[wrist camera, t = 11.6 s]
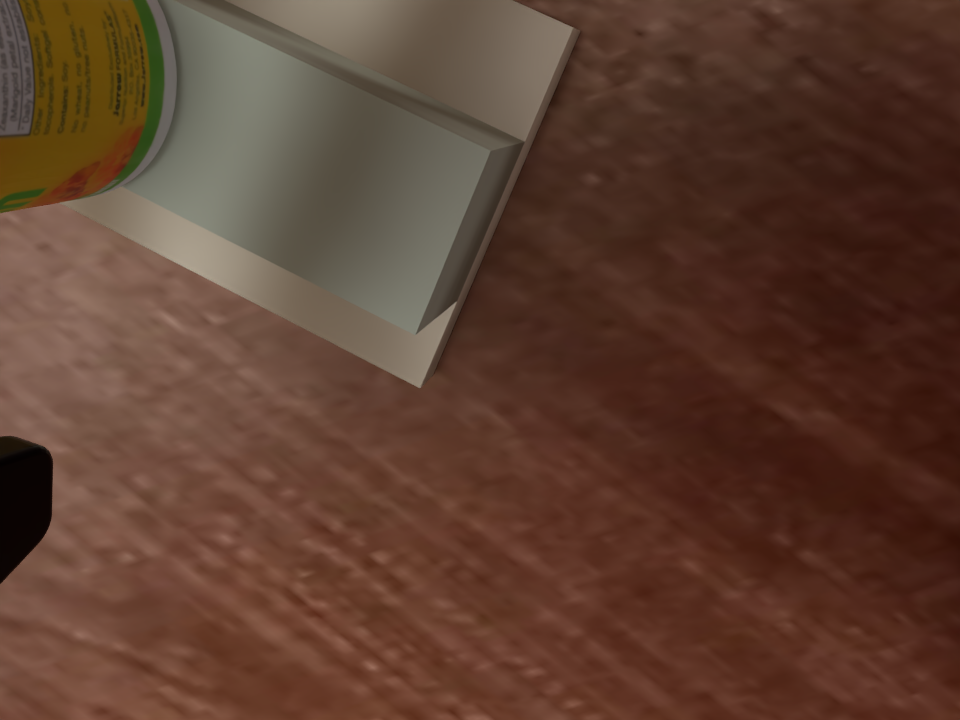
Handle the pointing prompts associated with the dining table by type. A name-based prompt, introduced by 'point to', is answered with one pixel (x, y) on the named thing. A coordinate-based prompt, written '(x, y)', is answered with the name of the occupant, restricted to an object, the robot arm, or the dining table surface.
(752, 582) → the dining table surface
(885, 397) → the dining table surface
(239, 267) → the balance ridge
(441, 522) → the dining table surface
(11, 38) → the supplement bottle
